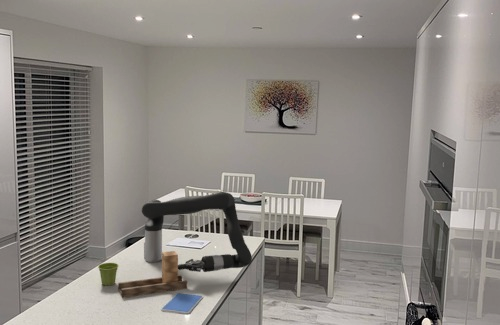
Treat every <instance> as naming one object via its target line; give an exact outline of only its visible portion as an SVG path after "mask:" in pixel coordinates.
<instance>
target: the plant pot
mask: <svg viewBox="0 0 500 325" xmlns="http://www.w3.org/2000/svg"><path fill="white" fill-rule="evenodd" d="M97 268H98V271H99V273H100V274H99V275H100V279H101V285H103V286H109V285H110V286H112V285H114V284H115V283H116V280H117V279H116V278H117V272H118V271H117V270H118V268H119V264H118V263H117V262H104V263H101V264H98V266H97Z"/></svg>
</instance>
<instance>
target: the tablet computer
mask: <svg viewBox="0 0 500 325" xmlns="http://www.w3.org/2000/svg"><path fill="white" fill-rule="evenodd" d="M203 298H204V296H203V295H199V294H193V293H183V292H177V293H176V294H175V295H173V297H172V298H171V299H170V300H169V301H168V302H167V303H165V305H163V307H161V309H160V311H162V312H167V313H175V314H181V315H188V314H191V311H193V310H194V308H195V307H196V306H197V305H198V304H199V303H200V301H201V300H202V299H203Z"/></svg>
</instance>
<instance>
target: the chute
mask: <svg viewBox="0 0 500 325" xmlns="http://www.w3.org/2000/svg"><path fill="white" fill-rule="evenodd" d="M117 285H118V292H119V295H120V296H121V298H122V299H123V298H129V297H136V296H137V297H138V296H144V295H151V294H157V293H166V292H172V291H177V290H178V291H180V290H187V289H188V280H186V279H185V280H183V274H178V281H176V282H169V283H162V276H161V277H159V276H158V277H154V278H152V277H151V278H146V279H137V280H129V281H122V282H118V284H117Z"/></svg>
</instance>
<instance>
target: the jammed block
mask: <svg viewBox="0 0 500 325" xmlns="http://www.w3.org/2000/svg"><path fill="white" fill-rule="evenodd" d="M178 265H179V255H178V253H177V252H176V251H175V250H174V251H173V250H172V251H162V260H161V277H162V283H169V282H176V281H178V275H179V269H178Z"/></svg>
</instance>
